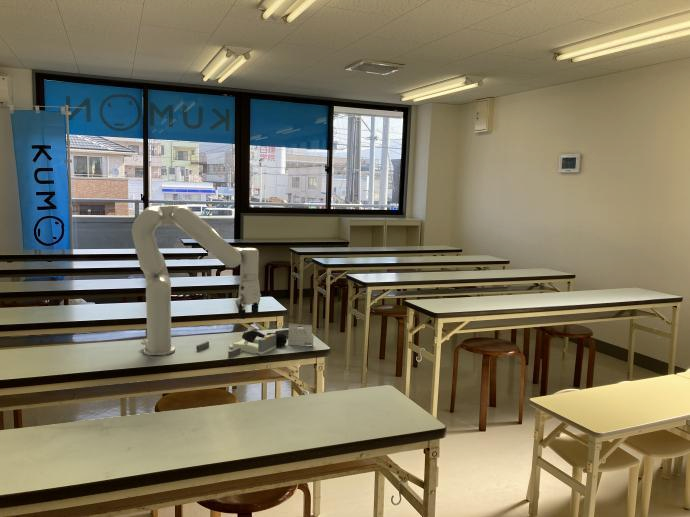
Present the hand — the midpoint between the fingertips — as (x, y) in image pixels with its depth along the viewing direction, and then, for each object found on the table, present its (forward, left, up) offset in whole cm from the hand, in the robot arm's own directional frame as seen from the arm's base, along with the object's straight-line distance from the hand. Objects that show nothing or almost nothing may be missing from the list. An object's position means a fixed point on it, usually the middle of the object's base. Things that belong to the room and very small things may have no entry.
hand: (248, 316), depth 248 cm
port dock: (+2, 0, -14) cm, 14 cm away
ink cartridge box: (+18, +14, -14) cm, 27 cm away
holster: (-7, -12, -14) cm, 20 cm away
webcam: (+8, +9, -14) cm, 19 cm away
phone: (+6, +25, -14) cm, 30 cm away
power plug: (+3, +2, -12) cm, 13 cm away
